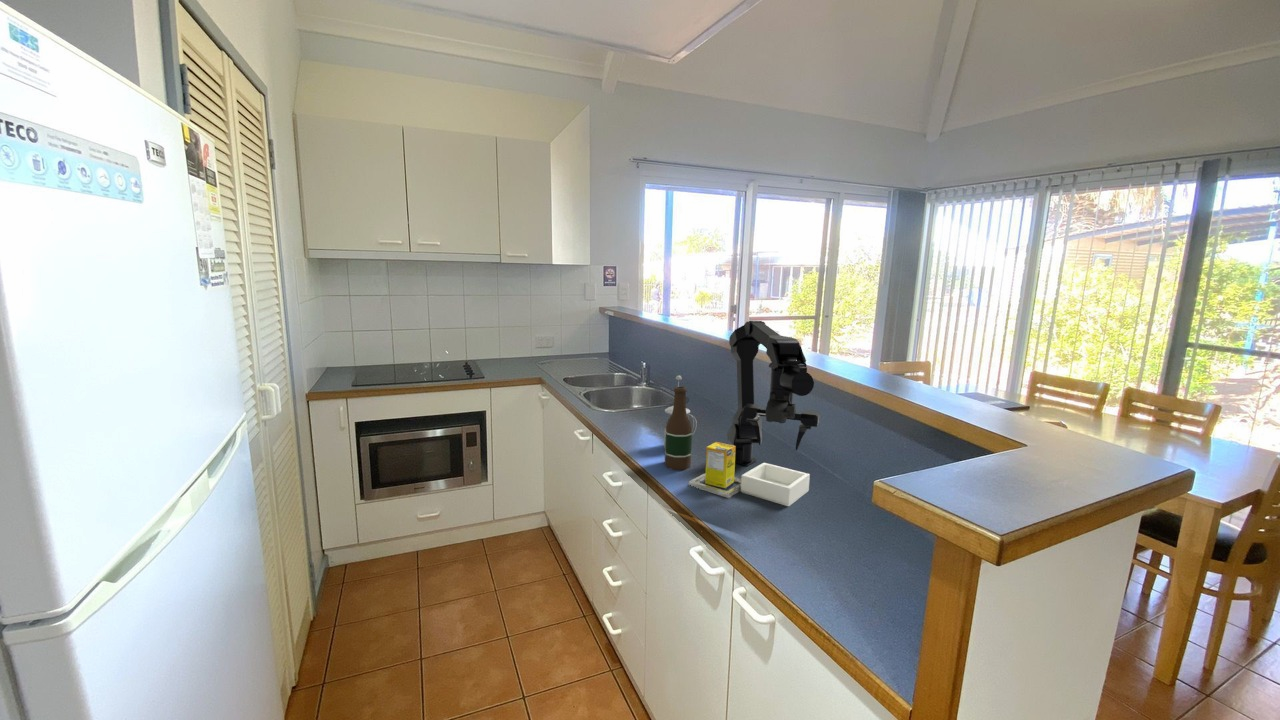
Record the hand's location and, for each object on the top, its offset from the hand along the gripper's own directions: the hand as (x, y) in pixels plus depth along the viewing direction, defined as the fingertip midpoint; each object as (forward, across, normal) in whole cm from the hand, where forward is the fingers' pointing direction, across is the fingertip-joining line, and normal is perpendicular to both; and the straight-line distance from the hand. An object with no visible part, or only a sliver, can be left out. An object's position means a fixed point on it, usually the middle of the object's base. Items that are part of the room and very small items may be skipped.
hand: (778, 447), depth 131 cm
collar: (+12, -14, -2) cm, 19 cm away
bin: (+12, 0, 0) cm, 12 cm away
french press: (+12, -34, +18) cm, 40 cm away
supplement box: (+12, -14, -2) cm, 19 cm away
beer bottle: (+12, -29, +5) cm, 32 cm away
